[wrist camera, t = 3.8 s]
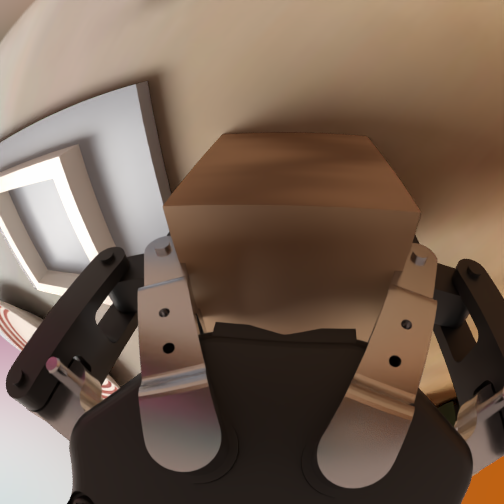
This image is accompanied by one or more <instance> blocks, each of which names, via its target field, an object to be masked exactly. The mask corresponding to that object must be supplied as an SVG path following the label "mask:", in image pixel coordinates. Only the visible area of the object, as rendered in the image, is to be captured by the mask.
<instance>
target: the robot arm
mask: <svg viewBox="0 0 504 504" xmlns="http://www.w3.org/2000/svg"><path fill="white" fill-rule="evenodd" d="M108 295H109V297H110V299H111V300H112V302H113V304H112V305H111V306H110V308H109V309H108V311H107V312H106V313H105V315H104V316H103V318H102V319H101V321H100V322H99V323H98V325H97V324H96V321H95V315H96V312H97V310H98V309H99V307H100V306H101V304H102V303H103V302H104V300H105V299H106V298H107V296H108ZM469 314H470V315H471V317H472V319H473V321H474V323H475V325H476V327H477V330H478V341H477V343H476V342H475V339H474V337H473V335H472V333H471V331H470V329H469V326H468V324H467V322H466V318H467V317H468V315H469ZM137 326H138V332H139V351H140V365H141V373H140V374H138V375H137V376H136V377H134V378H133V379H131V380H130V381H129V382H127V383H126V384H125V385H123V386H122V387H120V388H119V389H118V390H116V391H115V392H114V393H112V394H111V395H109V396H108V397H107V398H105V399H103V397H102V396H101V395H102V387H101V386H102V384H103V383H104V381H105V379H106V377H107V376H108V374H109V372H110V370H111V369H112V367H113V365H114V364H115V362H116V360H117V359H118V357H119V355H120V354H121V352H122V350H123V349H124V347H125V345H126V344H127V342H128V341H129V339H130V337H131V336H132V334H133V332H134V331H135V329H136V328H137ZM432 331H434V334H435V336H436V338H437V341H438V343H439V346H440V349H441V351H442V354H443V357H444V359H445V362H446V365H447V368H448V370H449V373H450V376H451V379H452V382H453V385H454V389H455V392H456V395H457V398H458V402H459V405H460V410H459V412H458V416H457V421H456V423H455V425H454V427H453V426H452V425H451V423H450V422H449V421H448V420H447V419H446V418H445V417H444V415H443V414H442V413H441V412H440V411H439V410H438V409H437V408H436V406H435V405H434V404H433V403H432V402H431V401H430V400H429V399H428V398H427V397H426V395H425V394H424V393H423V392H422V391H421V390H420V389H419V388H418V387H419V384H420V381H421V377H422V374H423V370H424V366H425V362H426V358H427V354H428V350H429V346H430V341H431V336H432ZM6 389H7V392H8V394H9V395H10V396H11V397H12V398H13V399H15V400H16V401H18V402H19V403H20V404H22V405H23V406H25V407H26V408H27V409H28V410H29V411H31V412H32V413H34V414H35V415H37V416H38V417H40V418H42V419H43V420H45V421H47V422H48V423H49V424H50V425H51V426H52V427H53V428H54V429H56V430H57V431H58V432H59V433H60V434H62V435H63V436H64V437H65V438H67V439H68V440H69V441H70V447H69V449H70V457H71V463H72V474H73V489H72V495H71V497H70V500H69V501H68V503H67V504H461V502H462V499H463V497H464V496H465V493H466V491H467V489H468V487H469V484H470V481H471V478H472V475H473V474H475V473H476V472H478V471H480V470H481V469H483V468H485V467H486V466H488V465H489V464H491V463H493V462H494V461H496V460H497V459H499V458H500V457H502V456H504V299H503V297H502V295H501V294H500V292H499V290H498V289H497V287H496V286H495V284H494V282H493V281H492V279H491V278H490V276H489V275H488V273H487V272H486V270H485V269H484V268H483V267H482V266H481V265H480V264H479V263H477V262H475V261H473V260H471V259H462V260H460V261H459V262H458V264H457V266H456V269H455V268H452V267H449V266H445V265H442V264H439V263H437V257H436V255H435V254H434V253H433V252H432V251H431V250H430V249H429V248H427V247H426V246H423V245H421V244H419V242H418V239H417V237H416V235H415V236H414V239H413V242H412V245H411V249H410V252H409V255H408V258H407V261H406V263H405V266H404V269H403V271H394V274H393V277H392V280H391V283H390V286H389V289H388V292H387V295H386V298H385V300H384V303H383V306H382V308H381V311H380V313H379V316H378V317H377V319H376V322H375V324H374V326H373V329H372V331H371V334H370V336H369V339H368V341H367V342H365V341H362V340H358V339H357V337H356V329H336V328H320V329H315V330H310V331H304V332H299V333H293V334H280V333H276V332H272V331H269V330H266V329H262V328H259V327H255V326H252V325H248V324H235V323H224V322H215V326H214V329H213V332H208V333H207V331H206V327H205V323H204V319H203V315H202V312H201V310H200V309H199V308H197V305H196V302H195V299H194V295H193V291H192V287H191V282H190V277H189V273H188V270H187V267H186V263H179V260H178V257H177V254H176V251H175V248H174V244H173V241H172V238H171V235H170V231H169V233H168V234H167V236H163V237H160V238H157V239H155V240H153V241H152V242H151V243H149V244H148V245H147V247H146V248H145V251H144V253H143V254H139V255H134V256H129V257H127V256H126V254H125V251H124V250H123V249H122V248H121V247H110V248H107V249H105V250H103V251H102V252H100V253H99V254H98V255H97V256H96V257H95V258H94V259H93V260H92V261H91V262H90V263H89V265H88V266H87V267H86V268H85V269H84V270H83V271H82V273H81V274H80V275H79V276H78V277H77V278H76V280H75V281H74V282H73V283H72V284H71V286H70V287H69V288H68V289H67V290H66V292H65V293H64V294H63V295H62V297H61V298H60V299H59V300H58V302H57V303H56V304H55V305H54V307H53V308H52V309H51V311H50V312H49V313H48V315H47V316H46V317H45V319H44V320H43V321H42V323H41V324H40V325H39V327H38V328H37V330H36V331H35V332H34V334H33V335H32V337H31V338H30V339H29V341H28V342H27V344H26V345H25V347H24V348H23V350H22V351H21V353H20V354H19V356H18V357H17V359H16V361H15V362H14V364H13V365H12V367H11V369H10V370H9V372H8V375H7V378H6Z"/></svg>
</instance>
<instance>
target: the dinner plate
mask: <svg viewBox="0 0 504 504" xmlns="http://www.w3.org/2000/svg"><path fill="white" fill-rule="evenodd" d="M42 321H43V319H41V318H40V317H38V316H36V315H34V314H32V313H30V312H28V311H26V310H22V309H20V308H17V307H15V306H13V305H11V304H8V303H6V302H3V301H0V330H1V331H2V332H3V333H4V335H5V336H6V337H7V338H8V339H9V340H10V341H11V342H12V343H13V344H14V345H15V346H16V347H18V348H19V349H20V350H21V351H22V350H23V348H24V347H25V345H26V344H27V342H28V341H29V339H30V338H31V337H32V335H33V334H34V332H35V331H36V330H37V328H38V327H39V325H40V324H41V323H42ZM101 387H102V395H101V396H102V397H103V399H105V398H107V397H108V396H109V395H111V394H112V393H114V392H115V391H116V390H118V389H119V388H120V386H119V385H118V384H117V383H116V382H115V381H114V379H113V378H112V377H111V376H110V375H109V374H108V376H107V377H106V379H105V381H104V383H103V384H102V386H101Z"/></svg>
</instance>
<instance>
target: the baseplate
mask: <svg viewBox="0 0 504 504" xmlns="http://www.w3.org/2000/svg"><path fill="white" fill-rule="evenodd" d="M170 196H171V191H170V187H169V183H168V178H167V174H166V170H165V166H164V161H163V157H162V153H161V148H160V143H159V139H158V134H157V129H156V124H155V119H154V114H153V109H152V103H151V98H150V92H149V87H148V81H145V82H141V83H137V84H134V85H130V86H127V87H124V88H120V89H117V90H114V91H111V92H108V93H105V94H102V95H99V96H96V97H94V98H91V99H88V100H86V101H83V102H80V103H78V104H75V105H73V106H71V107H68V108H66V109H64V110H61V111H59V112H57V113H55V114H52V115H50V116H48V117H46V118H44V119H42V120H40V121H38V122H36V123H34V124H32V125H30V126H28V127H26V128H24V129H23V130H21V131H19V132H17V133H15V134H14V135H12V136H10V137H9V138H7V139H5V140H4V141H2V142H0V231H1V233H2V235H3V237H4V239H5V240H6V242H7V244H8V246H9V248H10V249H11V251H12V253H13V255H14V256H15V258H16V260H17V261H18V263H19V265H20V266H21V268H22V270H23V271H24V273H25V274H26V276H27V277H28V279H29V280H30V282H31V283H32V285H33V286H34V288H35V289H38V290H39V291H44V292H48V293H53V294H57V295H63V294H64V293H65V292H66V290H67V289H68V288H69V287H70V286H71V284H72V283H73V282H74V281H75V280H76V278H77V277H78V276H79V275H80V274H81V273H82V271H83V270H84V269H85V268H86V267H87V266H88V265H89V263H90V262H91V261H92V260H93V259H94V258H95V257H96V256H97V255H98V254H99V253H100V252H102V251H103V250H105V249H107V248H110V247H121V248H122V249H123V250H124V251H125V254H126V256H127V257H129V256H134V255H139V254H143V253H144V251H145V248H146V247H147V245H148V244H149V243H151V242H152V241H153V240H155V239H157V238H160V237H163V236H167V234H168V233H169V228H168V224H167V221H166V217H165V214H164V210H163V207H162V206H163V205H164V203H165V202H166V201H167V200H168V198H169V197H170ZM103 304H108V305H112V304H113V302H112V300H111V299H110V297H109V295H108V296H107V298H106V299H105V300H104V302H103Z"/></svg>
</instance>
